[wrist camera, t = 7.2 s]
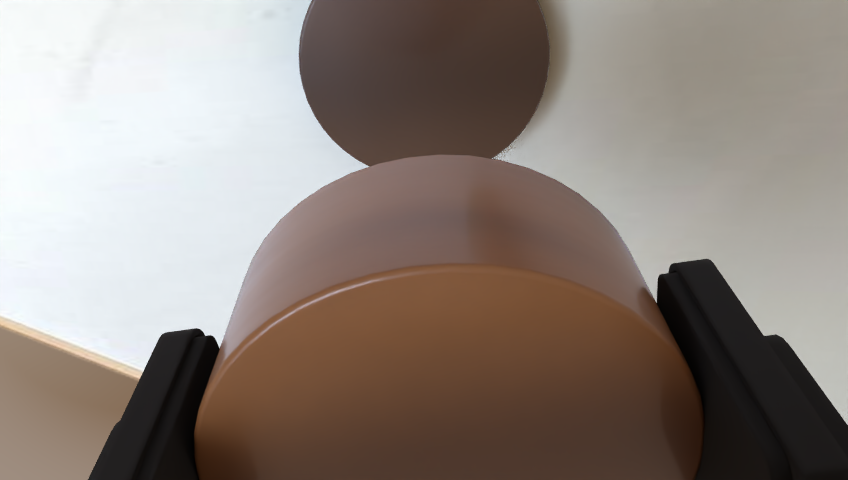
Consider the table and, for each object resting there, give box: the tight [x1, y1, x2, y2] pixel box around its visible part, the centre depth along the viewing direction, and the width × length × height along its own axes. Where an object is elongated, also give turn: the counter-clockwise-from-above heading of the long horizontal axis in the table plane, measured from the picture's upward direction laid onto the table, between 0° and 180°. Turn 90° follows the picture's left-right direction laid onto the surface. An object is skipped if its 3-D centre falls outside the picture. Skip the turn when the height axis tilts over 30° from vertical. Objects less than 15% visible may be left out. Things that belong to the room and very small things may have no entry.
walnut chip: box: [299, 0, 550, 167], centre depth 23 cm, size 8×8×2 cm
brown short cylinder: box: [194, 155, 705, 480], centre depth 11 cm, size 7×7×3 cm
